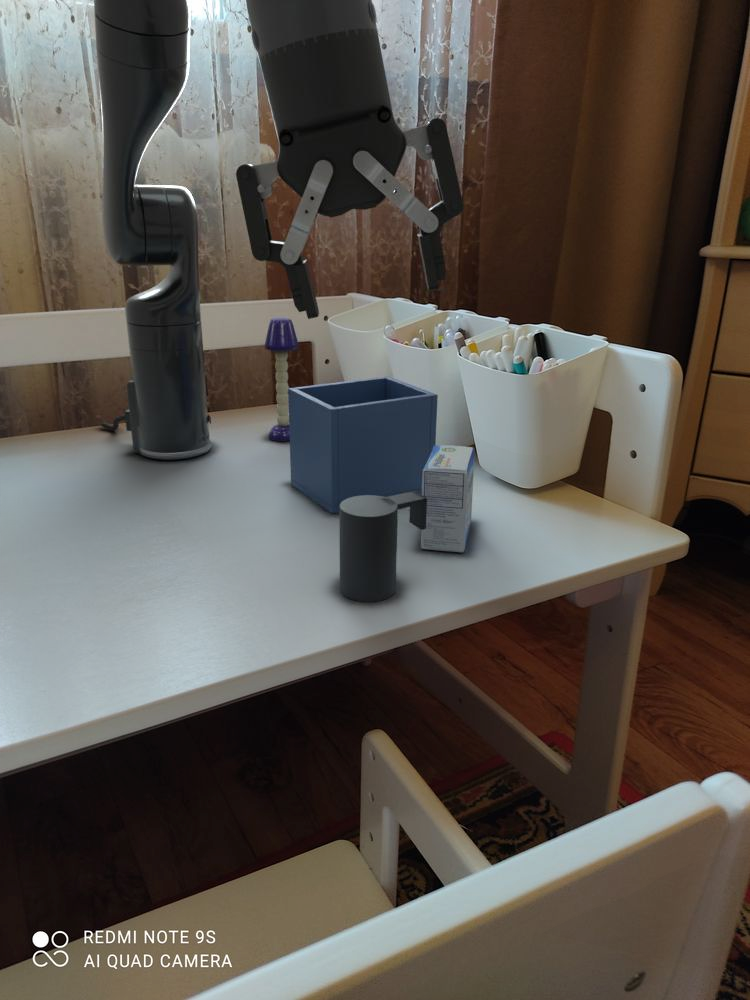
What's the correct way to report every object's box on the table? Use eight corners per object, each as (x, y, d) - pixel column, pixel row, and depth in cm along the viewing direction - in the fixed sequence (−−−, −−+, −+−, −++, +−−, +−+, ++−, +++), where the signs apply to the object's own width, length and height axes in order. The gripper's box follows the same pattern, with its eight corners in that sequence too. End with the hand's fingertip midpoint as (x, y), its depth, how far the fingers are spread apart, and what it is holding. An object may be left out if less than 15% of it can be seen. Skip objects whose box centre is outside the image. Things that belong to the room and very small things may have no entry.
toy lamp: (265, 433, 112) (260, 317, 106) (296, 430, 114) (293, 315, 108) (272, 442, 108) (267, 322, 102) (304, 439, 110) (302, 320, 103)
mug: (357, 607, 66) (357, 521, 63) (329, 583, 70) (329, 501, 67) (433, 585, 69) (437, 503, 66) (403, 564, 73) (405, 485, 70)
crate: (332, 514, 85) (331, 409, 80) (290, 484, 93) (287, 388, 89) (433, 492, 91) (438, 394, 87) (386, 466, 100) (388, 376, 95)
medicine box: (464, 554, 75) (469, 471, 72) (419, 550, 76) (422, 467, 73) (471, 523, 83) (476, 446, 79) (429, 519, 83) (433, 443, 80)
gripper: (425, 23, 50) (466, 274, 57) (216, 75, 51) (279, 315, 58) (436, 0, 43) (481, 288, 50) (193, 60, 44) (268, 335, 51)
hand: (372, 302), depth 54 cm, fingers open, 8 cm apart
